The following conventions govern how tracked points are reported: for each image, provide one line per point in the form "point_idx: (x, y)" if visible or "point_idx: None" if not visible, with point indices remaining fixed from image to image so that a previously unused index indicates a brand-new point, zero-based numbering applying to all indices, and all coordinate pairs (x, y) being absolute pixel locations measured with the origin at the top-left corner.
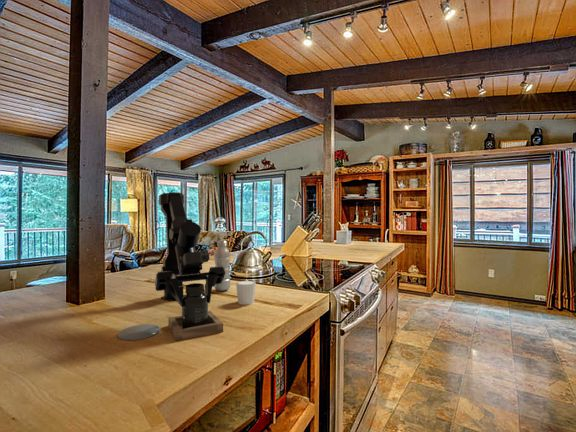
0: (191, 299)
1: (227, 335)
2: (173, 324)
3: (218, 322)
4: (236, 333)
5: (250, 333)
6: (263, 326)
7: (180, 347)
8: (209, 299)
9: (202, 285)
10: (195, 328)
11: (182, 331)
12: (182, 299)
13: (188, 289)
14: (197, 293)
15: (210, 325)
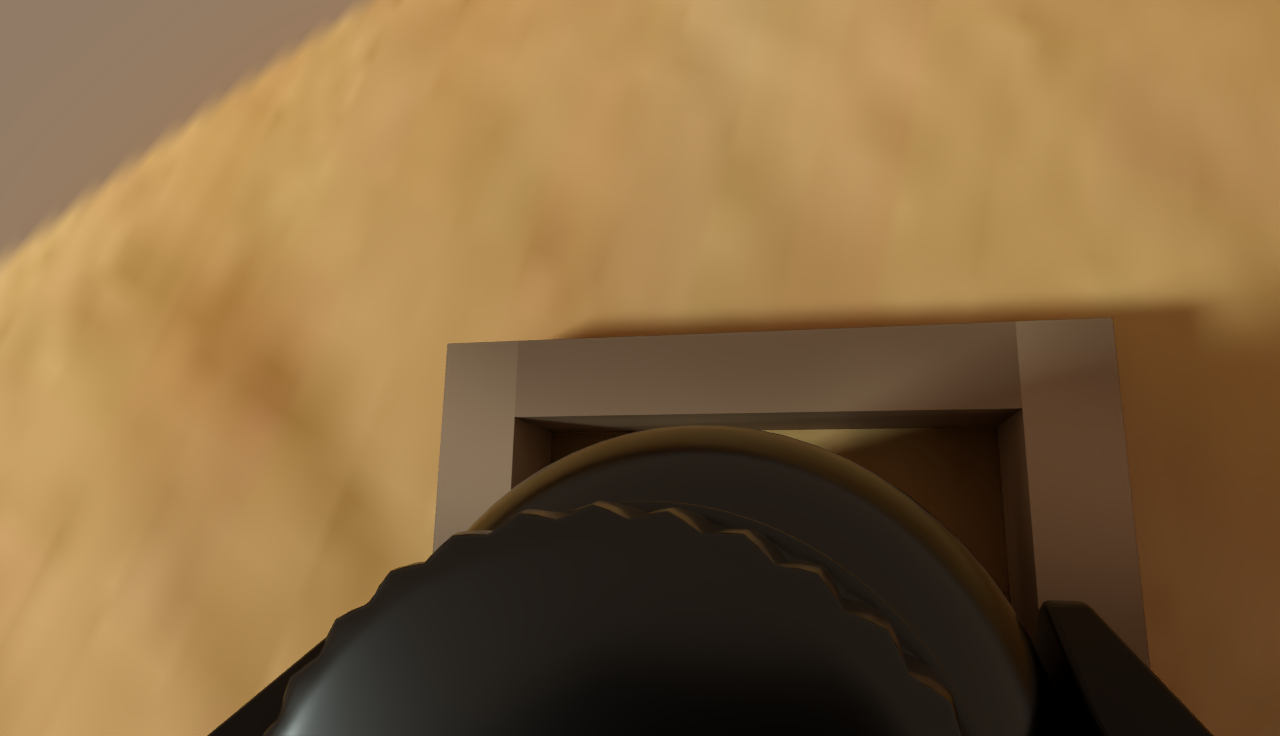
0: (849, 488)
1: (490, 246)
2: None
3: (483, 409)
4: (392, 257)
5: (283, 197)
6: (97, 315)
7: (1044, 143)
8: None
9: (326, 668)
10: (822, 331)
11: (1013, 324)
12: (1096, 705)
13: (948, 690)
14: (644, 508)
15: (609, 349)
